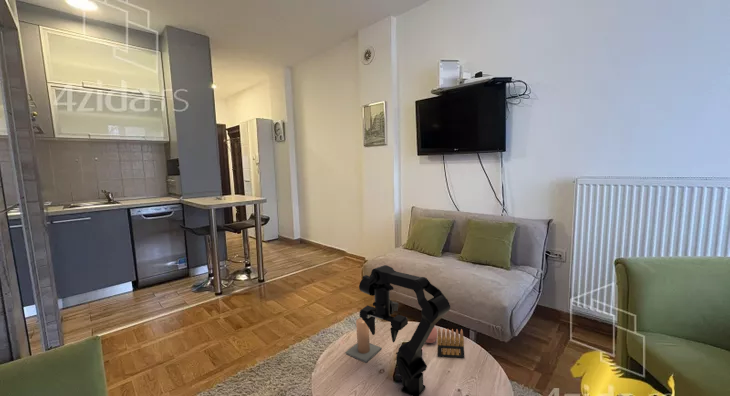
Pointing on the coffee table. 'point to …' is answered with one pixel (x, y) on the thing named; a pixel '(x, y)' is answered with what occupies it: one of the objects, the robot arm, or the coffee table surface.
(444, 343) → the ammunition clip
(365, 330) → the tan domed cylinder
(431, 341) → the pink bottle vase
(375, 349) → the slate mat
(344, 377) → the coffee table surface
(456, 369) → the coffee table surface
